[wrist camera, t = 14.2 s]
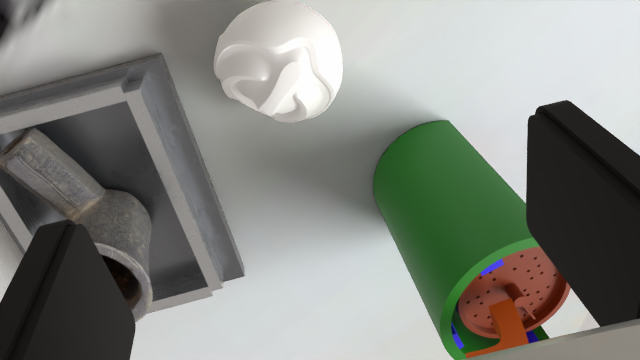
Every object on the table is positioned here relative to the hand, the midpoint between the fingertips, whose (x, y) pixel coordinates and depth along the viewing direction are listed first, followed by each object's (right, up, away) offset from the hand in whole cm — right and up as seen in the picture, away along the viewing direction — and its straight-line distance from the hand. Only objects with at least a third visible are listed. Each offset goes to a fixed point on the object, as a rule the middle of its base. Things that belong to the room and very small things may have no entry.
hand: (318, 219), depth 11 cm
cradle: (-16, -1, +30) cm, 34 cm away
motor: (+9, +1, +33) cm, 34 cm away
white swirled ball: (-3, +10, +26) cm, 28 cm away
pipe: (-16, 0, +28) cm, 33 cm away
